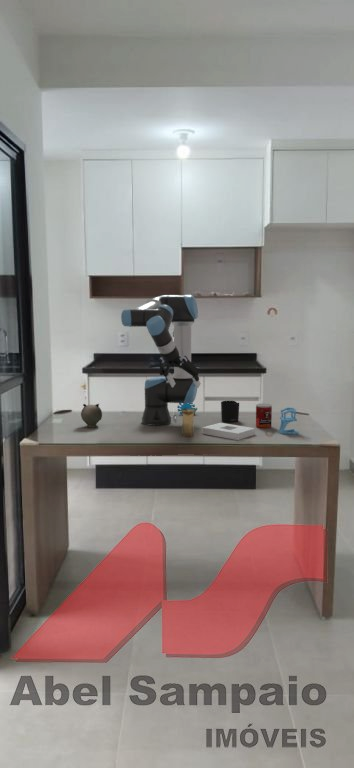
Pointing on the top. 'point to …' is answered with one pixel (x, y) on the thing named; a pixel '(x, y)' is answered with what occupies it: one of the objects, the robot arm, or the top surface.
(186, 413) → the brass ball knob
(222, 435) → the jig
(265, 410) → the canned food
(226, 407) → the pen holder
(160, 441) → the top surface
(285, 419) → the chair
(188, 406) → the gear
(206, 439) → the top surface
